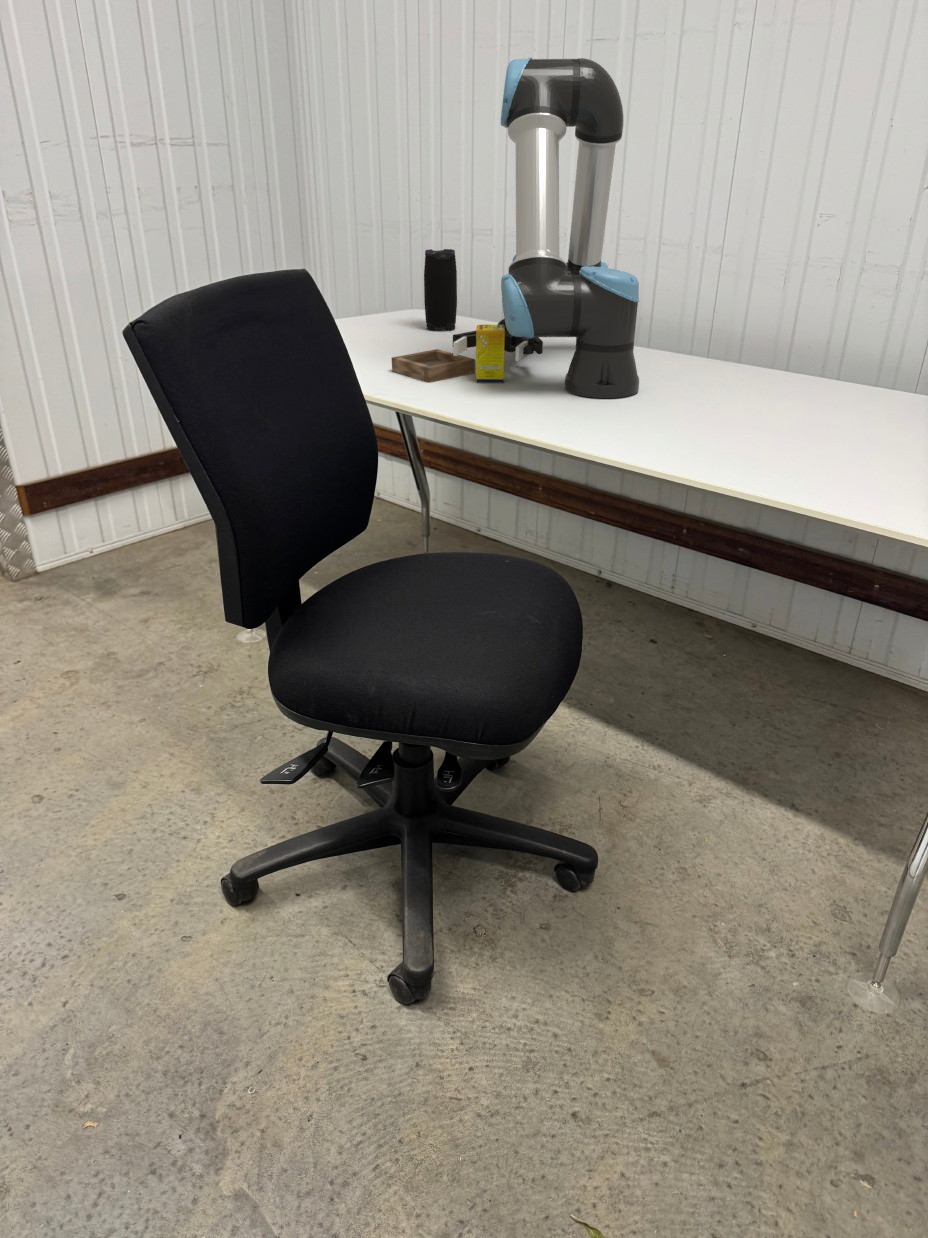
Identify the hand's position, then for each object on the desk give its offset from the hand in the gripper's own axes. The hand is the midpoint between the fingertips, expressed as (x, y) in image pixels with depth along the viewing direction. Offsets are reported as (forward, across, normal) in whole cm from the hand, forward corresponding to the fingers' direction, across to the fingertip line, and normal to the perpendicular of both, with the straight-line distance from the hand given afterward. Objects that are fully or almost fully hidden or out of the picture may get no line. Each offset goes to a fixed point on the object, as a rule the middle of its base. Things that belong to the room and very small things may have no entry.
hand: (485, 351), depth 185 cm
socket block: (-5, +14, -6) cm, 16 cm away
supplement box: (-3, 0, -7) cm, 7 cm away
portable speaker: (-51, +29, -7) cm, 59 cm away
